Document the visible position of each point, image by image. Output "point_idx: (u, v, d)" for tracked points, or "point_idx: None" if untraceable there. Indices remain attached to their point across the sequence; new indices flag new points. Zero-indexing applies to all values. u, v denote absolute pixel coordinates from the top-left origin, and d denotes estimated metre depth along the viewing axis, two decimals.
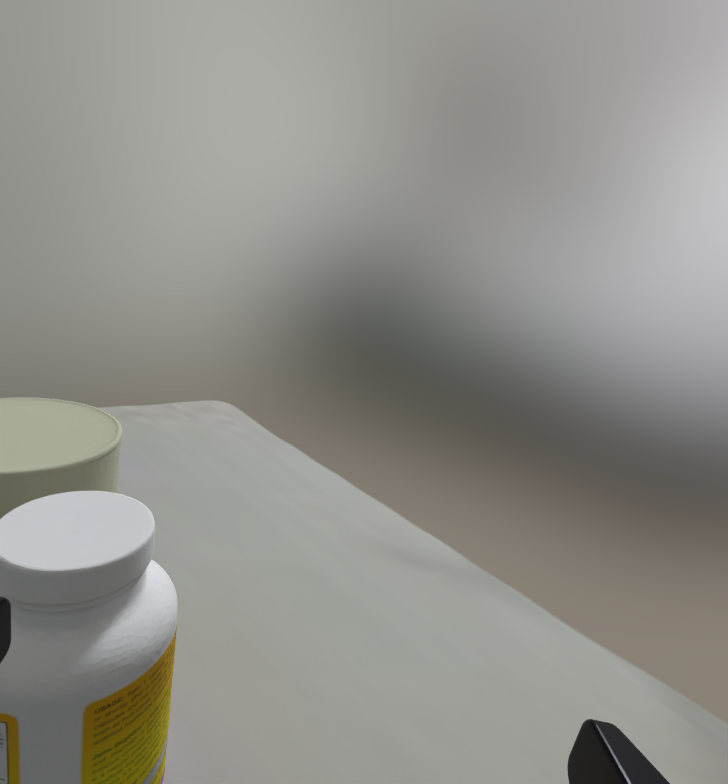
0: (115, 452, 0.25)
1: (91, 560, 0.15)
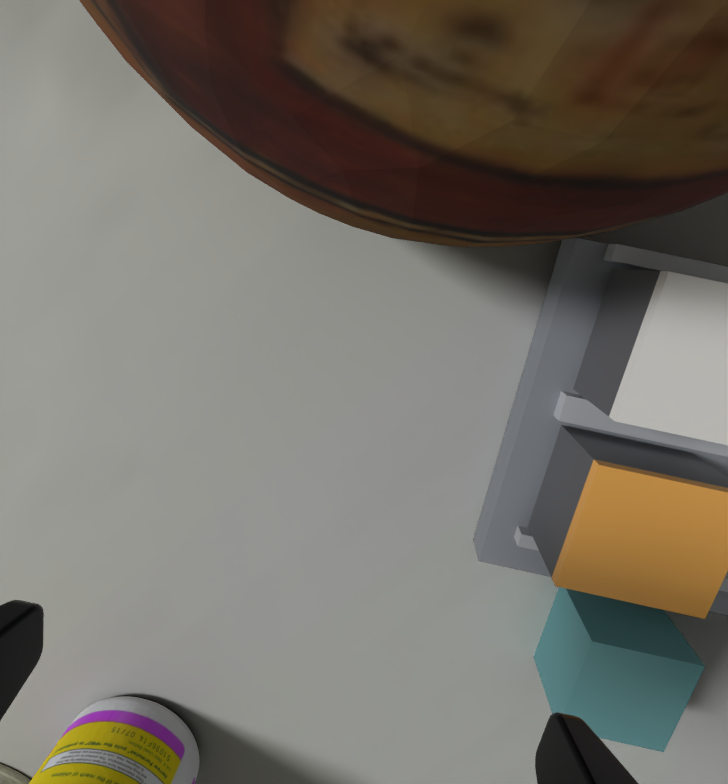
0: None
1: None
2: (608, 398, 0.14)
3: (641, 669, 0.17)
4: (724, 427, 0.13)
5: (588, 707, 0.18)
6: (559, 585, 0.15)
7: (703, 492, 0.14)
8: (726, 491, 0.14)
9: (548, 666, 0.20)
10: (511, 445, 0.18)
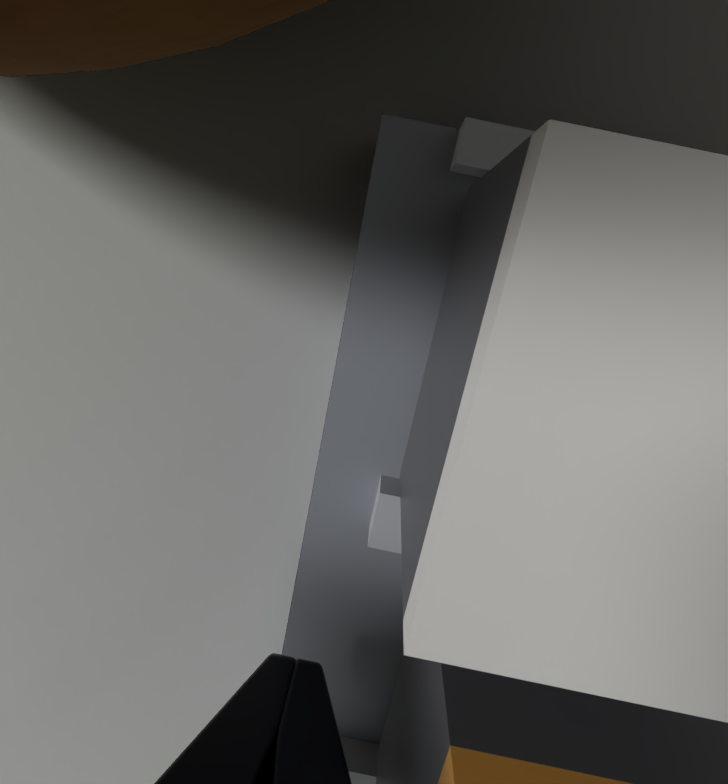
0: None
1: None
2: (412, 554, 0.05)
3: None
4: None
5: None
6: None
7: None
8: None
9: None
10: (296, 579, 0.09)
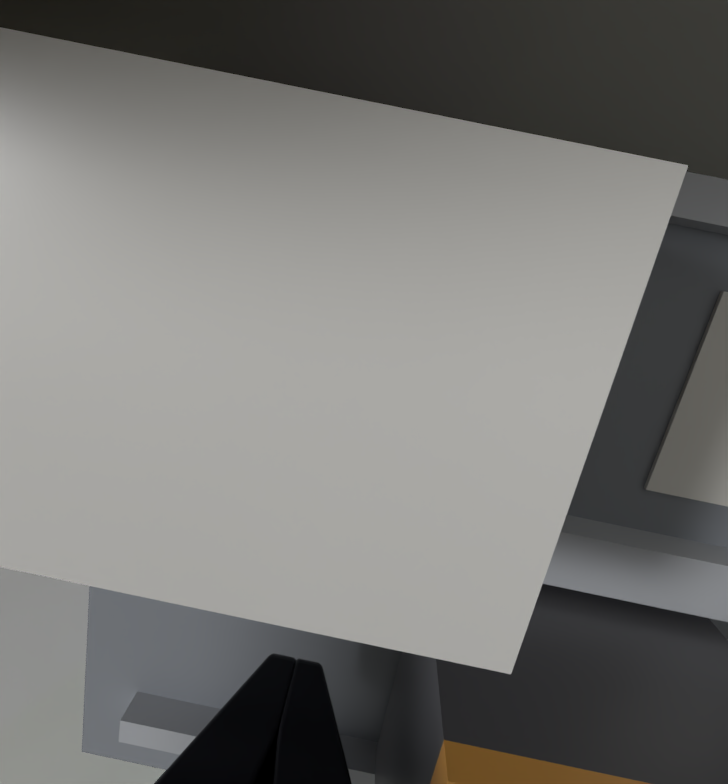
0: None
1: None
2: None
3: None
4: (323, 585, 0.04)
5: None
6: None
7: None
8: None
9: None
10: None
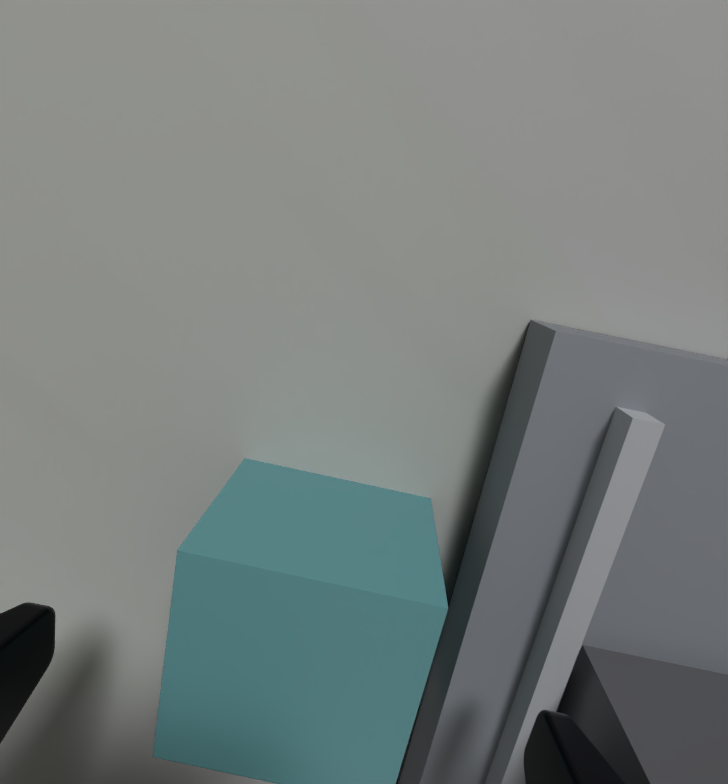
0: None
1: None
2: None
3: (372, 705, 0.08)
4: None
5: (252, 612, 0.07)
6: None
7: None
8: None
9: (268, 497, 0.09)
10: None
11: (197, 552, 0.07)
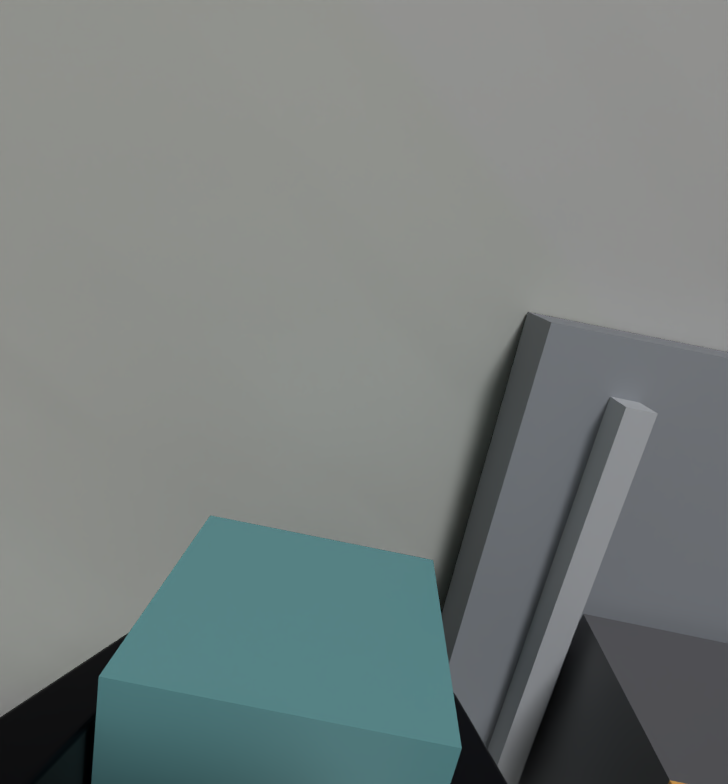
0: None
1: None
2: None
3: None
4: None
5: (202, 753, 0.06)
6: None
7: None
8: None
9: (232, 576, 0.07)
10: None
11: (127, 679, 0.05)
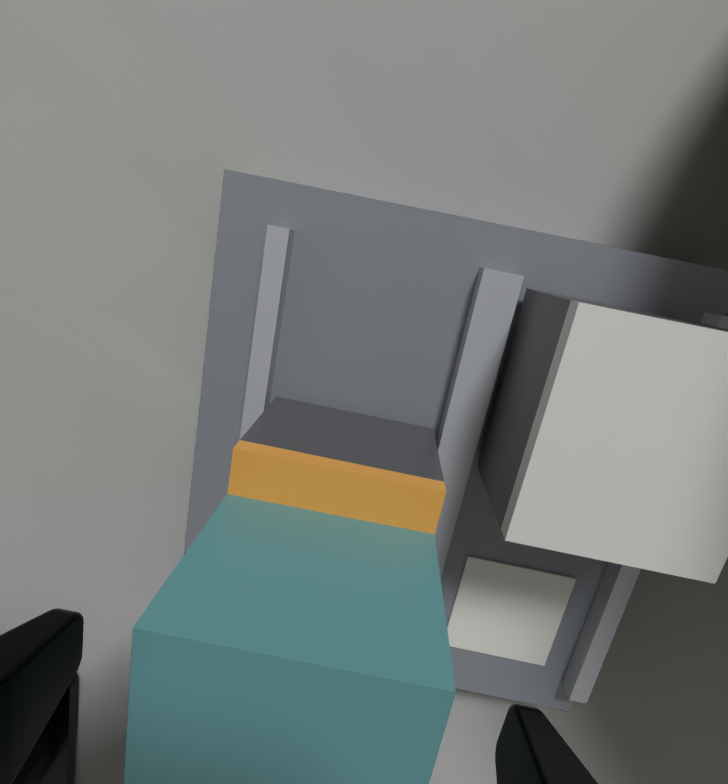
0: None
1: None
2: (587, 303, 0.09)
3: None
4: (556, 464, 0.09)
5: (224, 697, 0.06)
6: (235, 453, 0.09)
7: None
8: None
9: (248, 546, 0.08)
10: (425, 211, 0.12)
11: (157, 631, 0.06)
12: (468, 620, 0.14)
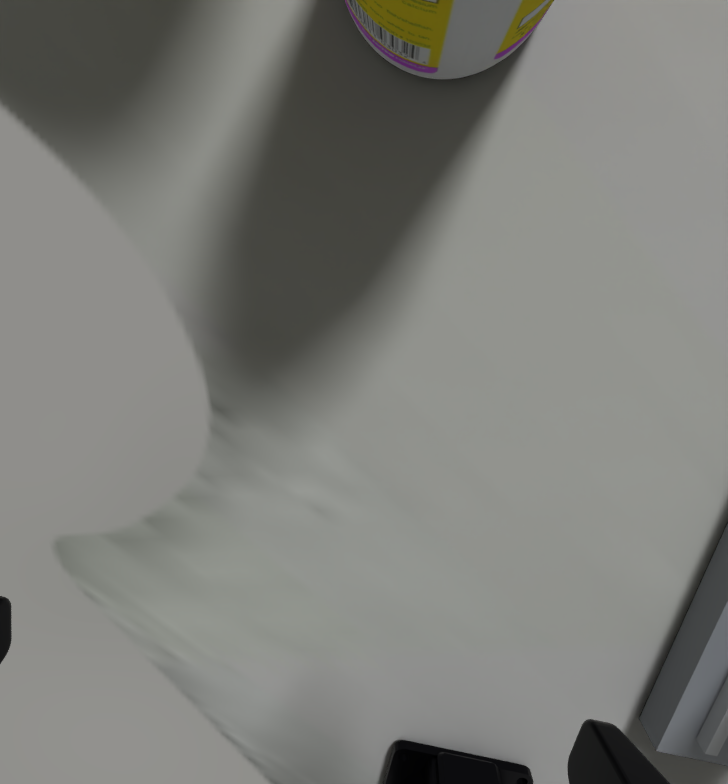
0: None
1: None
2: None
3: None
4: None
5: None
6: None
7: None
8: None
9: None
10: None
11: None
12: None
